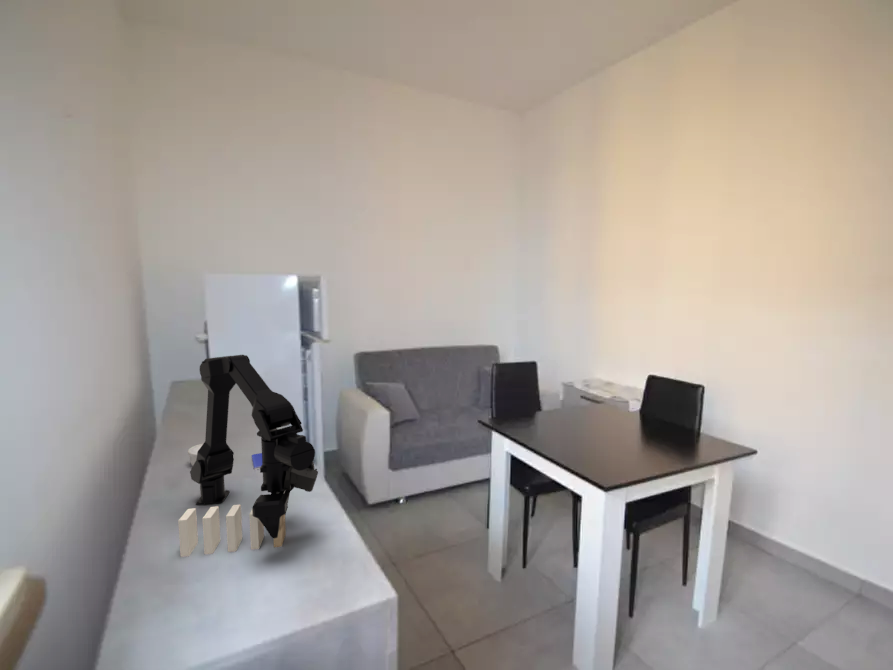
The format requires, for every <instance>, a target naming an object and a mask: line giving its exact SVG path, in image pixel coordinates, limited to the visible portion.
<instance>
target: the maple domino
mask: <svg viewBox="0 0 893 670" xmlns="http://www.w3.org/2000/svg"><path fill="white" fill-rule="evenodd" d="M286 528H287V527H286V515H285V514H284V515H282V516H281V518H280V525H279V532H278V537H277V538H272V539H273V548H282V547H283V544H284V542H285V537H286V535H287V533H286V530H287V529H286Z"/></svg>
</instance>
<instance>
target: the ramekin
mask: <svg viewBox="0 0 893 670" xmlns="http://www.w3.org/2000/svg"><path fill="white" fill-rule="evenodd" d="M203 444H204V443H200V444H196V445H193V446H192V447H190V448H188V450H187V455H188V456H189V461H190V464H191V466H192V467H193V465H194V463H195V462H196V459H197V452H198V450H199V449H200V448H201V446H202V445H203Z"/></svg>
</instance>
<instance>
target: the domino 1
mask: <svg viewBox="0 0 893 670" xmlns="http://www.w3.org/2000/svg"><path fill="white" fill-rule="evenodd" d="M197 520H198V519H197V508H194V507H193V508H187V509H186V511H185V512H184V513H183V514H182V516H180V518H179V519H178V520H177V522H178V524H177V525H178V536H179V550H180V551H179V552H180V558H184V557H185V558H186V557H190V556H191V554H192V553H193V551H194V549H195V548H196V547H197V546H198V544H199V535H198V521H197Z"/></svg>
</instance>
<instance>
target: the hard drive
mask: <svg viewBox="0 0 893 670" xmlns="http://www.w3.org/2000/svg"><path fill="white" fill-rule="evenodd" d="M251 462H252V467H253V471H254V470H255V471H258V470H257V469H260V467H261V466H262V452H261V453H253V454H252V455H251Z"/></svg>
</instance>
